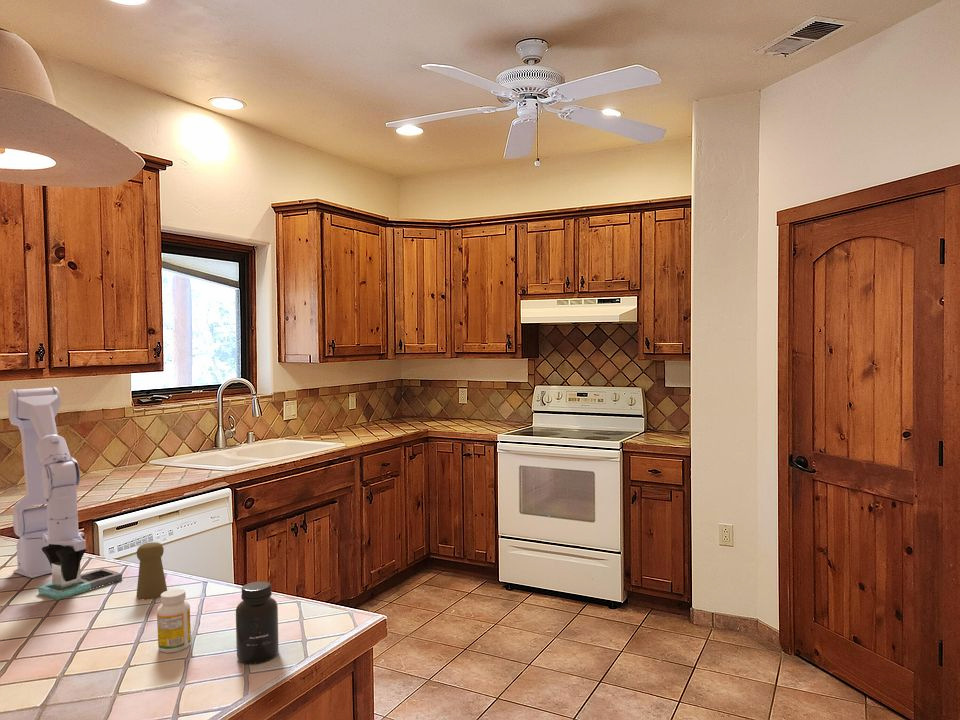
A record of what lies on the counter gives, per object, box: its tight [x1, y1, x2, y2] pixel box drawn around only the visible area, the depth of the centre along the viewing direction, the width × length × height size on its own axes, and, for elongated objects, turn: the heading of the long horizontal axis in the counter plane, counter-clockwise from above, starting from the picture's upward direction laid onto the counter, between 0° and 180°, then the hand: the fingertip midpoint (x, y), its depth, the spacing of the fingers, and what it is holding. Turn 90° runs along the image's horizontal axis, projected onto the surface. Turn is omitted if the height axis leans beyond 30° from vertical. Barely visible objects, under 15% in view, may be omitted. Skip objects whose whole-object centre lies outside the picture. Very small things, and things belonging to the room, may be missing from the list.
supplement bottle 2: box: [235, 581, 279, 665], centre depth 117 cm, size 7×7×12 cm
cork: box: [136, 541, 168, 601], centre depth 147 cm, size 6×6×11 cm
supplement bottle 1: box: [156, 588, 192, 654], centre depth 121 cm, size 5×5×10 cm
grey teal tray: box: [38, 567, 123, 601], centre depth 154 cm, size 8×14×2 cm, turn 147°
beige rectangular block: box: [51, 561, 82, 591], centre depth 151 cm, size 4×4×6 cm
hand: (65, 578), depth 151 cm, fingers closed on beige rectangular block, 4 cm apart
